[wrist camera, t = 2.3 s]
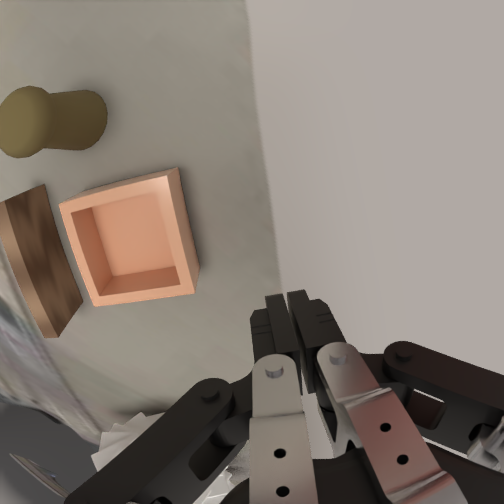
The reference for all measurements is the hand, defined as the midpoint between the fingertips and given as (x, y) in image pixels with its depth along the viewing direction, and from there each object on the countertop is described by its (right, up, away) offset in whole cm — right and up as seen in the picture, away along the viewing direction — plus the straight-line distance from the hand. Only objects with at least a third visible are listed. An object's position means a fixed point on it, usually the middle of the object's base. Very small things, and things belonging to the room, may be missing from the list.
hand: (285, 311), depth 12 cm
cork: (-18, +15, +11) cm, 26 cm away
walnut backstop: (-23, +3, +16) cm, 28 cm away
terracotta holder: (-12, +5, +15) cm, 20 cm away
